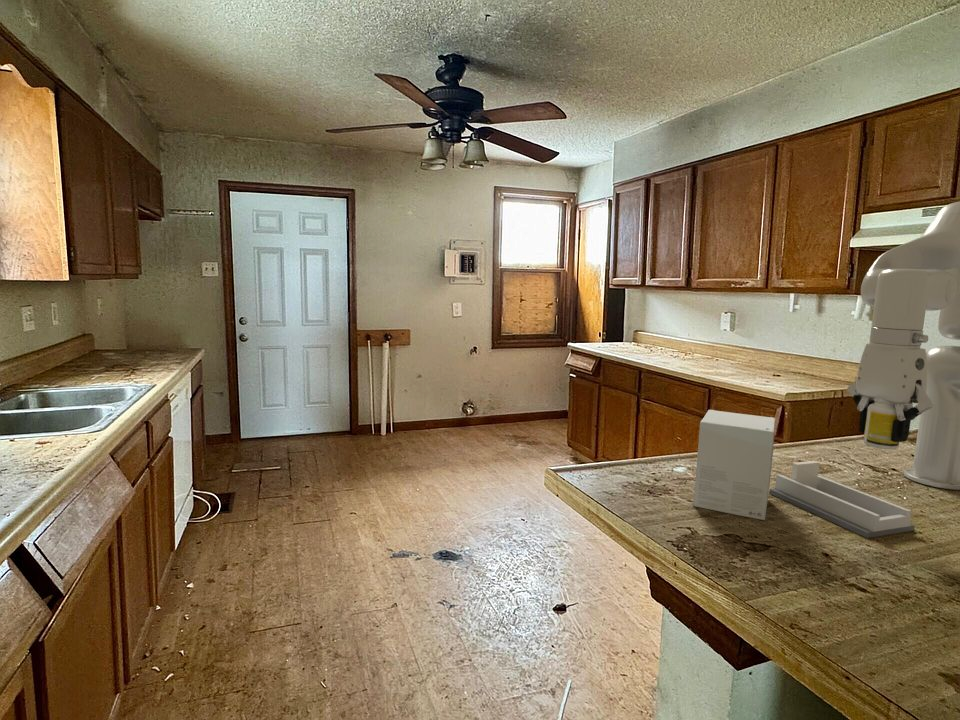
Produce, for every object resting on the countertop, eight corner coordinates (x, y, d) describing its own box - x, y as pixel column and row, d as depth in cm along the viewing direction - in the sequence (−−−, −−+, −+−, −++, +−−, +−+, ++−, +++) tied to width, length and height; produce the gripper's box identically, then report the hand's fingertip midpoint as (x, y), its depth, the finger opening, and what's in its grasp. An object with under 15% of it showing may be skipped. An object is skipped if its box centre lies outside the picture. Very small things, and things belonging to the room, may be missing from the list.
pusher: (811, 487, 124) (814, 460, 123) (816, 489, 123) (819, 462, 122) (789, 490, 122) (792, 462, 121) (794, 492, 121) (797, 464, 120)
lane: (811, 488, 127) (813, 470, 127) (914, 530, 107) (917, 509, 106) (769, 493, 123) (771, 475, 123) (867, 538, 103) (870, 516, 102)
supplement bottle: (904, 451, 103) (912, 397, 102) (870, 448, 104) (877, 395, 103) (889, 443, 108) (896, 392, 107) (857, 440, 109) (864, 390, 108)
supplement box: (768, 499, 120) (777, 417, 118) (765, 521, 109) (775, 431, 106) (700, 486, 126) (707, 408, 124) (691, 506, 115) (699, 421, 112)
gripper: (962, 344, 97) (946, 448, 99) (864, 333, 113) (853, 423, 115) (931, 344, 94) (915, 451, 97) (836, 333, 110) (825, 425, 113)
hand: (882, 435), depth 106 cm, fingers closed on supplement bottle, 5 cm apart
